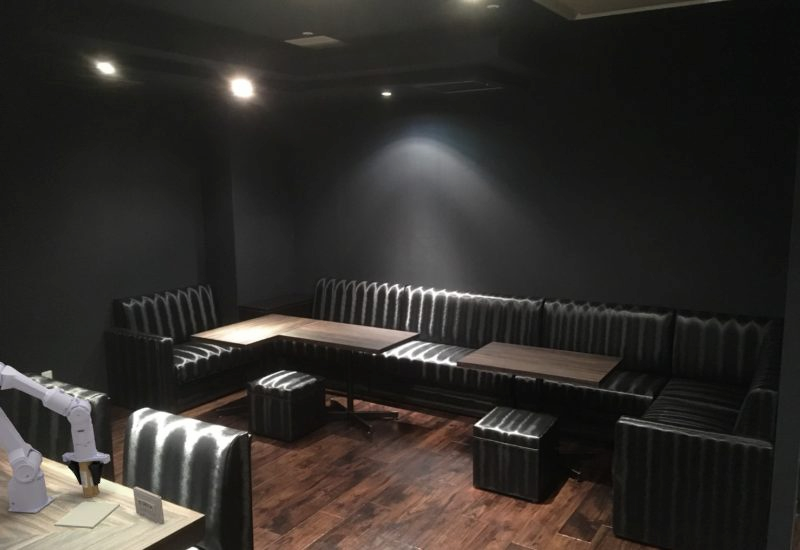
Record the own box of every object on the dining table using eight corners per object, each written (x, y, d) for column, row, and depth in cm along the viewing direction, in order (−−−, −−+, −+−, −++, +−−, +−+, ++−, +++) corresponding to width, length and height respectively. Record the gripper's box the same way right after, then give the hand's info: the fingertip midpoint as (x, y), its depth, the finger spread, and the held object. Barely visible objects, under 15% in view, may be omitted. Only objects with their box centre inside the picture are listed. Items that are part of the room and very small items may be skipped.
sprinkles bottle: (100, 494, 196) (94, 452, 194) (84, 499, 194) (78, 457, 191) (98, 489, 200) (92, 447, 198) (81, 493, 197) (75, 452, 195)
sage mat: (54, 525, 180) (54, 524, 180) (83, 503, 192) (83, 501, 192) (93, 528, 178) (92, 526, 178) (120, 505, 189) (119, 503, 189)
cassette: (134, 513, 185) (131, 488, 183) (140, 510, 186) (137, 485, 185) (160, 525, 178) (157, 499, 176) (166, 521, 179) (163, 496, 178)
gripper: (114, 436, 196) (119, 478, 199) (71, 434, 199) (77, 476, 201) (99, 446, 189) (105, 490, 192) (55, 444, 192) (61, 487, 195)
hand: (90, 483), depth 196 cm, fingers closed on sprinkles bottle, 4 cm apart
